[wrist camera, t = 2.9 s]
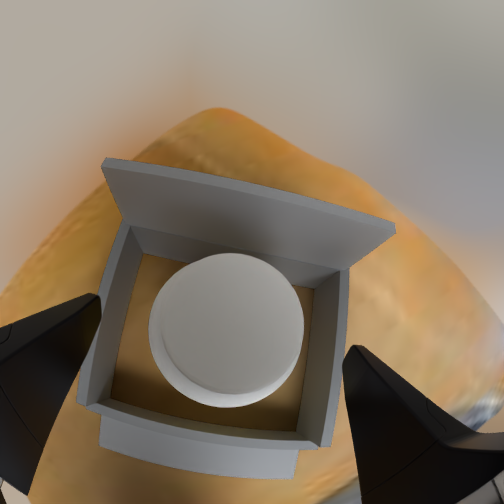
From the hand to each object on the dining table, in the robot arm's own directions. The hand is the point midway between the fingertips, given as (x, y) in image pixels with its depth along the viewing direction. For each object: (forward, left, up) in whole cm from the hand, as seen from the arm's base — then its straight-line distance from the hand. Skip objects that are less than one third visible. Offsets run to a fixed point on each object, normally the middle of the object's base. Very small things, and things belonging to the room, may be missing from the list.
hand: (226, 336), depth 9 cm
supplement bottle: (0, 0, -8) cm, 8 cm away
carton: (-1, 0, -8) cm, 8 cm away
